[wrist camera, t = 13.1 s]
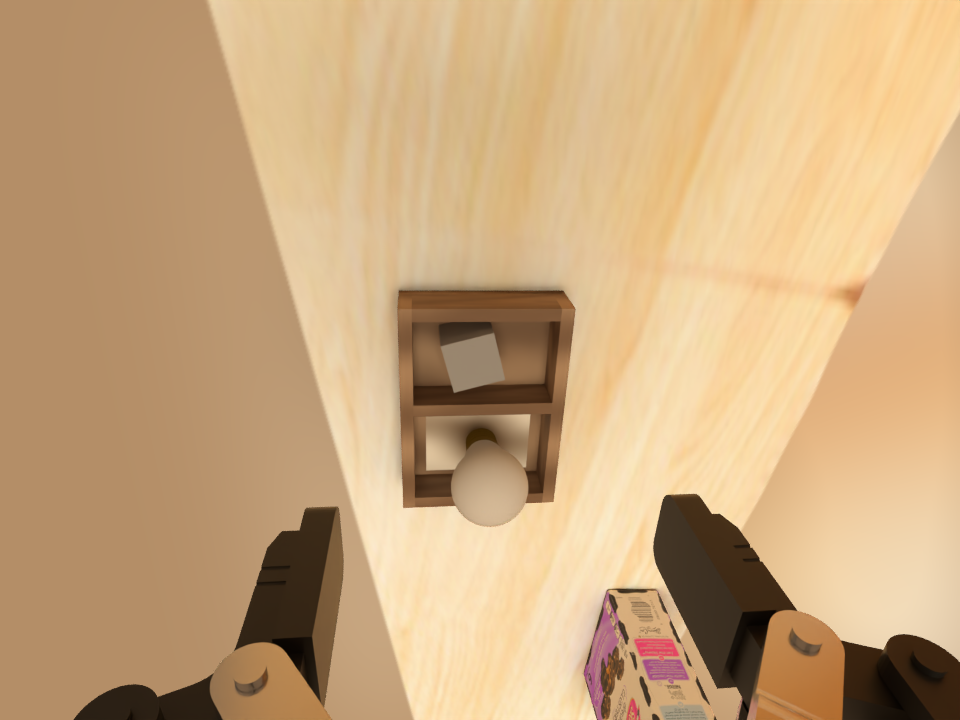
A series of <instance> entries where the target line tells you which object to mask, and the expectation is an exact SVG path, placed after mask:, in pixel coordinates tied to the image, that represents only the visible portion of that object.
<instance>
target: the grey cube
mask: <svg viewBox="0 0 960 720" xmlns="http://www.w3.org/2000/svg"><path fill="white" fill-rule="evenodd" d="M439 335H440V346H441V350H442V353H443V357H444V360H445V363H446V367H447V370H448V374H449V377H450V381H451V384H452V388H453V391H454V393H455V392H459V391H463V390H467V389H471V388H475V387H479V386H483V385H487V384H491V383H495V382H499V381H503V380H505V377H504V373H503V369H502V364H501V360H500V356H499V352H498V348H497V343H496V339H495V335H494V331H493V328H492V325H491V322H450V323H446V324H442V325H439Z"/></svg>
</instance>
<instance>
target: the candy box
mask: <svg viewBox="0 0 960 720" xmlns="http://www.w3.org/2000/svg"><path fill="white" fill-rule="evenodd" d="M584 676H585V680H586V683H587V687H588V690H589V694H590V697H591V701H592V704H593V707H594V711H595V715H596V718H597V720H716V717H715V715H714V713H713V711H712V709H711V706H710V704H709V702H708V700H707V698H706V695H705V693H704V691H703V689H702V687H701V685H700V682H699V680H698V678H697V676H696V673H695V671H694V669H693V667H692V665H691V663H690V661H689V659H688V656H687V654H686V652H685V650H684V648H683V646H682V644H681V641H680V639H679V637H678V635H677V633H676V630H675V628H674V626H673V624H672V622H671V619H670V617H669V615H668V613H667V611H666V609H665V606H664V604H663V602H662V600H661V598H660V596H659V593H658V591H657V590H656V591H649V590H608V591H607V595H606V597H605V601H604V604H603V608H602V612H601V615H600V618H599V622H598V626H597V629H596V632H595V636H594V640H593V643H592V647H591V650H590V654H589V657H588V661H587V664H586V668H585V671H584Z"/></svg>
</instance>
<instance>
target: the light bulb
mask: <svg viewBox="0 0 960 720" xmlns="http://www.w3.org/2000/svg"><path fill="white" fill-rule="evenodd" d="M451 493H452V498H453V501H454V503H455V506H456V507H457V509H458V510H459V512H460V513H461V514H462V515H463V516H464V517H465V518H466V519H468V520H469V521H470V522H472V523H474V524H477V525H480V526H485V527H495V526H500V525H503V524H505V523H507V522H509V521H511V520H512V519H513V518H515V517H516V516H517V515H518V514H519V513H520V511H521V510H522V508H523V507H524V504H525V502H526V499H527V495H528V479H527V475H526V472H525V470H524V468H523V466H522V465H521V463H520V462H519V461H518V460H517V459H516V458H515V457H514V456H513V455H512V454H510V453H509V452H507V451H505V450H502V449H501V448H500V446H499V445H498V443H497V440H496V437H495V435H494V433H493V432H492V431H490V430H489V429H485V428H478V429H475V430H473V431H471V432H470V433H469V434H468V436H467V438H466V454H465V457H464V458H462V460H461V461H460V462H459V463H458V465H457V466H456V468H455V470H454V473H453V476H452V481H451Z"/></svg>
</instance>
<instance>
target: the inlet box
mask: <svg viewBox="0 0 960 720" xmlns="http://www.w3.org/2000/svg"><path fill="white" fill-rule="evenodd" d="M574 317H575V307H574V306H573V304H572V303H571V302H570V300H569V299H568V297H567V296H566V294H565V293H564V292H563V291H399V297H398V342H399V376H400V411H401V445H402V479H403V508H412V507H438V506H455V503H454V501H453V498H452V493H451V481H452V476H453V473H454V470H455V468H456V466H457V465H458V463H459V462H460V461H461V460H462V458H464V457H465V454H466V438H467V436H468V434H469V433H470V432H471V431H473V430H475V429H478V428H485V429H489V430H490V431H492V432H493V433H494V435H495V437H496V440H497V443H498V445H499V446H500V448H501V449H502V450H505V451H507V452H509V453H510V454H512V455H513V456H514V457H515V458H516V459H517V460H518V461H519V462H520V463H521V465H522V466H523V468H524V470H525V472H526V475H527V479H528V495H527V499H526V502H525V503H541V502H553V501H554V492H555V483H556V475H557V466H558V457H559V448H560V440H561V431H562V422H563V413H564V405H565V396H566V387H567V378H568V370H569V361H570V352H571V343H572V335H573V326H574ZM450 322H491V325H492V328H493V331H494V335H495V339H496V343H497V348H498V352H499V356H500V360H501V364H502V369H503V373H504V377H505V380H503V381H499V382H495V383H491V384H487V385H483V386H479V387H475V388H471V389H467V390H463V391H459V392H455V393H454V391H453V388H452V384H451V381H450V377H449V374H448V370H447V367H446V363H445V360H444V357H443V353H442V350H441V346H440V335H439V325H442V324H446V323H450Z"/></svg>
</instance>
